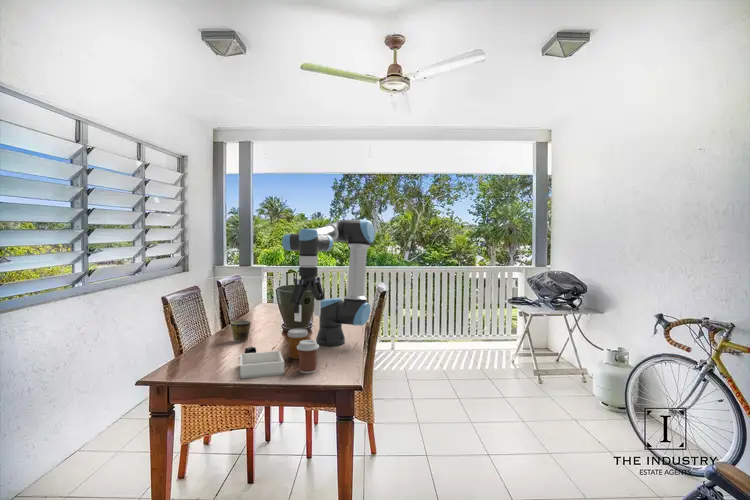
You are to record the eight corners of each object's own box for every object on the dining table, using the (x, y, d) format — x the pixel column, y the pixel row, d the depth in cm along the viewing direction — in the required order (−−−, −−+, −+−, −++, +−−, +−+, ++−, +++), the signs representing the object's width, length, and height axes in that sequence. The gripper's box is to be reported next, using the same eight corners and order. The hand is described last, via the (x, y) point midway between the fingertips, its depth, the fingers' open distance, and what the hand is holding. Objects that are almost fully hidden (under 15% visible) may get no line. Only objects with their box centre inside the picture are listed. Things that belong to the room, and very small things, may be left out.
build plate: (244, 362, 176) (244, 352, 176) (233, 360, 180) (233, 349, 180) (266, 355, 186) (266, 346, 186) (256, 353, 191) (255, 343, 190)
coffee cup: (320, 373, 161) (320, 343, 161) (297, 375, 159) (297, 345, 158) (317, 366, 170) (317, 338, 170) (295, 368, 168) (295, 339, 167)
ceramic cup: (236, 338, 217) (236, 319, 216) (253, 339, 215) (253, 320, 215) (224, 344, 204) (224, 324, 204) (242, 345, 202) (242, 325, 202)
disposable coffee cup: (283, 358, 181) (283, 332, 181) (294, 352, 190) (294, 327, 190) (301, 360, 178) (301, 334, 177) (312, 355, 187) (312, 329, 186)
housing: (279, 362, 176) (279, 350, 175) (284, 374, 160) (284, 361, 160) (239, 365, 170) (239, 354, 170) (240, 378, 154) (240, 365, 154)
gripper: (317, 264, 176) (317, 312, 177) (281, 267, 154) (280, 322, 154) (332, 265, 173) (331, 314, 173) (297, 268, 150) (296, 324, 151)
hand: (307, 318), depth 164 cm, fingers open, 13 cm apart
